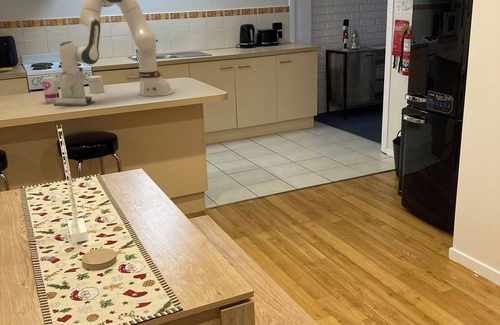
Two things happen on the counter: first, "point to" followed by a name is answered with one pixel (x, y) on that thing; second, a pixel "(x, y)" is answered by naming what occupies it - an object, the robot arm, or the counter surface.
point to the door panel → (74, 91)
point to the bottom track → (74, 101)
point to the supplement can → (50, 89)
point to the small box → (96, 84)
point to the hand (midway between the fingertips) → (73, 93)
